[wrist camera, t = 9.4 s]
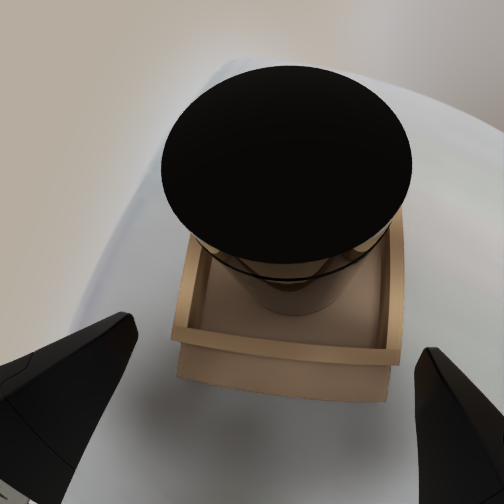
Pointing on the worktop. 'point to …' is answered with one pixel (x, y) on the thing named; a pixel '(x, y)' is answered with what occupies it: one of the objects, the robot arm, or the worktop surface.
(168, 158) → the supplement container
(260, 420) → the worktop surface
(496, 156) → the worktop surface
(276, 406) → the worktop surface
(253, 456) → the worktop surface
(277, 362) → the board
